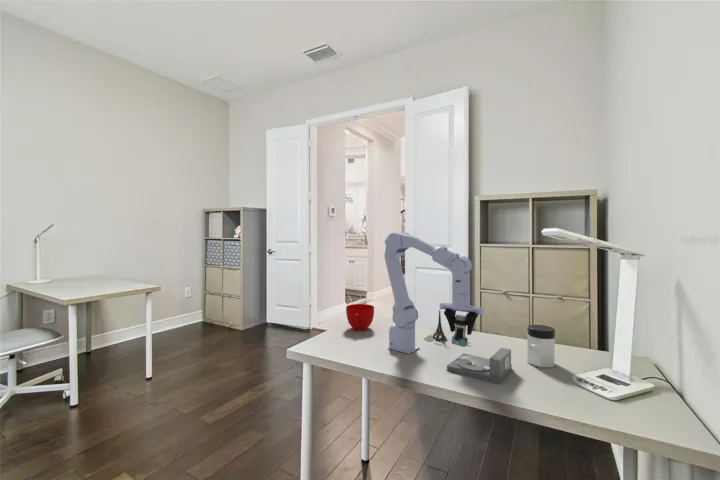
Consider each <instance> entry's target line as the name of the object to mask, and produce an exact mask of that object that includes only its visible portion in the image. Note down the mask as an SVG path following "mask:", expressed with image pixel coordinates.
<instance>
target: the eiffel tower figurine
mask: <svg viewBox="0 0 720 480" xmlns="http://www.w3.org/2000/svg"><path fill="white" fill-rule="evenodd" d="M441 318H442V317H441V309H439V311H438V321H437V322H438V323H437V328H436V330H435V332H434V333H432V334H430V335H428V336H426V337H424V338H423V340H424V341H425V342H428V343H433V342H434V341H435V342H434V343H433V345H438V346H441V344H440V343H436V342H447V341H449V340H448V339H447V337H446V336H445V332H444V331H443V327H442V320H441Z"/></svg>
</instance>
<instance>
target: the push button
mask: <svg viewBox="0 0 720 480" xmlns="http://www.w3.org/2000/svg"><path fill="white" fill-rule="evenodd" d="M453 320H454V323H455V331H454V333H453V335H452V337H451V344H452V345H455V346H459V347H463V348H465V347H468V348H469V347H470V348H471V347H472V343H471V342H469V341H468V338H467V336H466V334H467V318H466V314H456V315H455V317H453Z"/></svg>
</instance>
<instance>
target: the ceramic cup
mask: <svg viewBox="0 0 720 480" xmlns="http://www.w3.org/2000/svg"><path fill="white" fill-rule="evenodd" d="M345 309H346V310H345V311H346V312H345V313H346V318H347V321H348V324H349V326H351V327H352V329H353V328H354V329H357V330H356V331H365V330H364V329H366V330H367V329H368V328H369V327H370V326H371V325H372V323H373V320H374V315H375V306H374V305H372V304H367V303H354V304H349V305H346V306H345ZM354 329H353V330H354Z"/></svg>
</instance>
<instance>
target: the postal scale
mask: <svg viewBox="0 0 720 480" xmlns="http://www.w3.org/2000/svg"><path fill="white" fill-rule="evenodd" d="M512 364H513V363H512V349H510V348H503V347H500V348H499V349H498V350H497V351H496V352H495V353H494V354H493V355H492V356H490V358H487V357H483V356H479V355H473V354H469V353H462V354H460V355H459V356H457V357H456V358H455V359H454V360H452V361H451V362H449V364H447V365H446V371H448V372H452V373H456V374H460V375H463V376H466V377H472V378H475V379H479V380H483V381H486V382H490V383H493V384H497V385H500V383H501V382H503V380H504V379H505V378H506V376H507V375H508V374H509V373H510V372H511V370H512V369H513V367H512V366H513V365H512Z"/></svg>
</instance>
